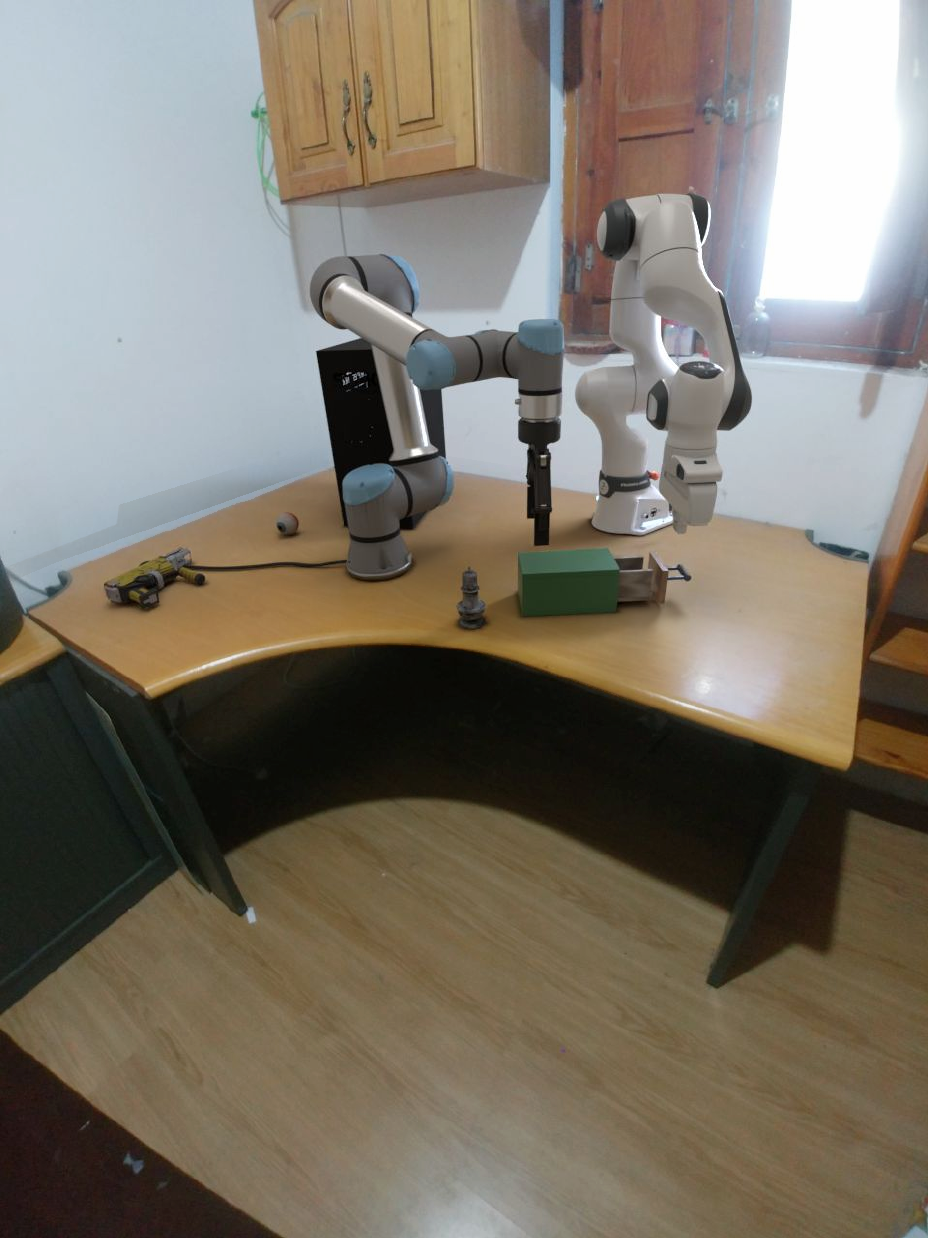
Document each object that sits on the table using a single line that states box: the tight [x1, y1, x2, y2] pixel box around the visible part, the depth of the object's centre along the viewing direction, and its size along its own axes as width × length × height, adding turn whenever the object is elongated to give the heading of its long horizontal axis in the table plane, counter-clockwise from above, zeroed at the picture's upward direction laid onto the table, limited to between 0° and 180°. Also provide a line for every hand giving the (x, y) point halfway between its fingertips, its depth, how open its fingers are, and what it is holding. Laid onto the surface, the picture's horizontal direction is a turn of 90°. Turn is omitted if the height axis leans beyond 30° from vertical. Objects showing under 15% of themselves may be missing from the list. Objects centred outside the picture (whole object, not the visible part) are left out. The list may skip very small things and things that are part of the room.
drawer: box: [613, 551, 692, 605], centre depth 122 cm, size 23×9×7 cm, turn 90°
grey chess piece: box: [455, 565, 487, 629], centre depth 116 cm, size 6×6×12 cm
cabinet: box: [517, 547, 620, 617], centre depth 122 cm, size 19×10×9 cm, turn 90°
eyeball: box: [275, 511, 300, 536], centre depth 163 cm, size 6×6×6 cm
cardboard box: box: [315, 337, 447, 530], centre depth 170 cm, size 38×20×45 cm, turn 167°
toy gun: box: [103, 546, 206, 610], centre depth 139 cm, size 5×24×15 cm
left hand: (537, 530), depth 117 cm, fingers open, 13 cm apart
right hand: (678, 531), depth 116 cm, fingers closed
